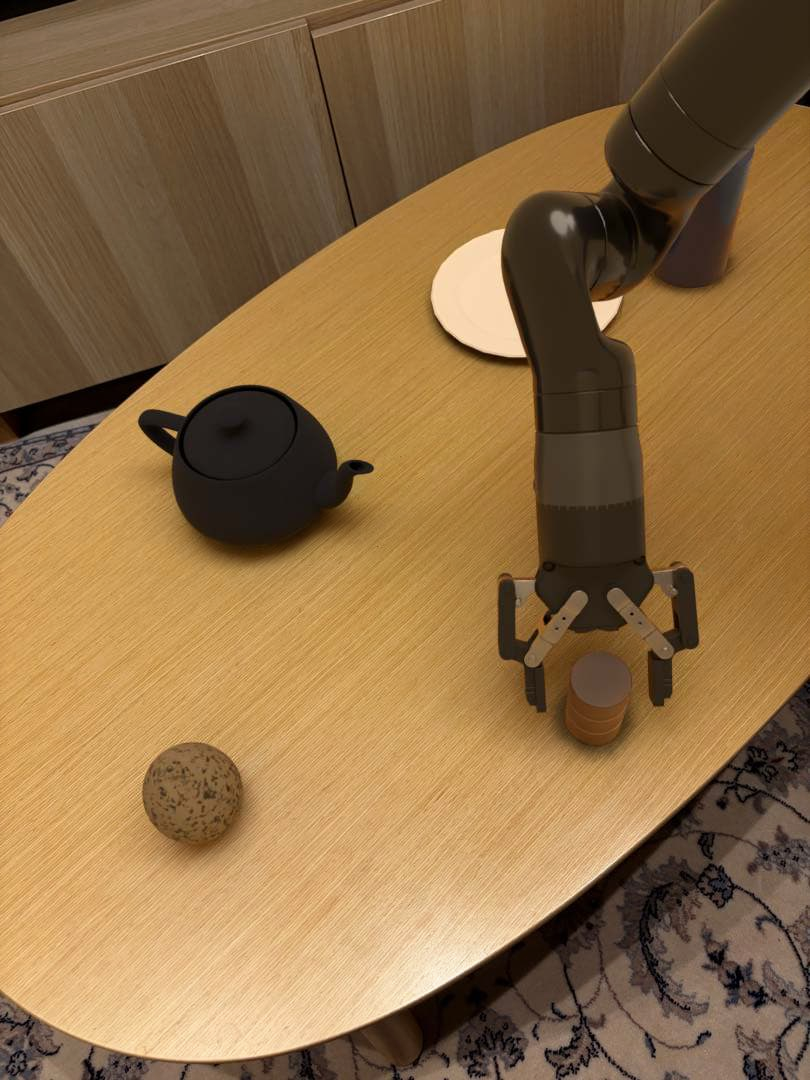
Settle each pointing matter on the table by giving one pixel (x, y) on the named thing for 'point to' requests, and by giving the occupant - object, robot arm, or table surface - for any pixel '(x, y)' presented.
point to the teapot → (251, 465)
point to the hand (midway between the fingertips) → (598, 705)
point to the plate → (485, 299)
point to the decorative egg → (192, 792)
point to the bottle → (707, 232)
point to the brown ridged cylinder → (597, 697)
